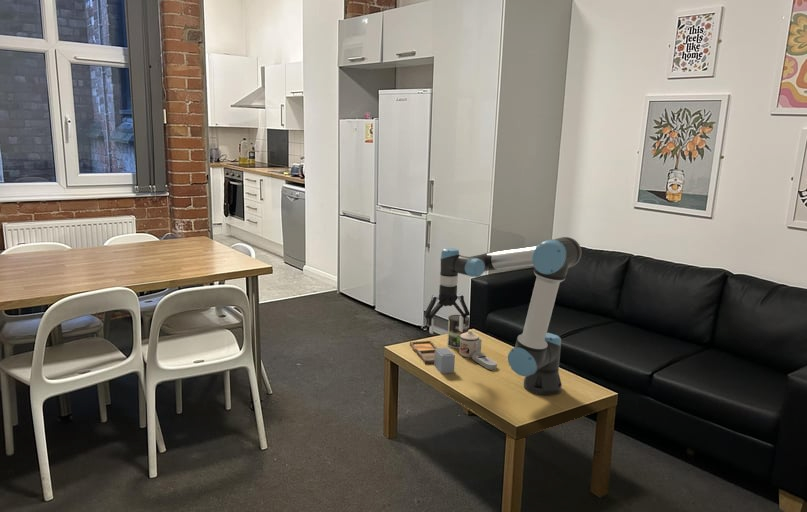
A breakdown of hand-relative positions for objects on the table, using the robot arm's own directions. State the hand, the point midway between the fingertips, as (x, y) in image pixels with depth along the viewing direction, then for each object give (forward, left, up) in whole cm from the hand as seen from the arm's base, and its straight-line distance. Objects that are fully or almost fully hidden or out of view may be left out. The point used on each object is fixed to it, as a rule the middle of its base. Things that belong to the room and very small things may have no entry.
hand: (446, 332), depth 245 cm
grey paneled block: (0, 0, -17) cm, 17 cm away
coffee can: (+27, -17, -17) cm, 36 cm away
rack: (+19, +1, -17) cm, 25 cm away
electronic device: (+1, -20, -17) cm, 26 cm away
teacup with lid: (+12, -18, -17) cm, 27 cm away
